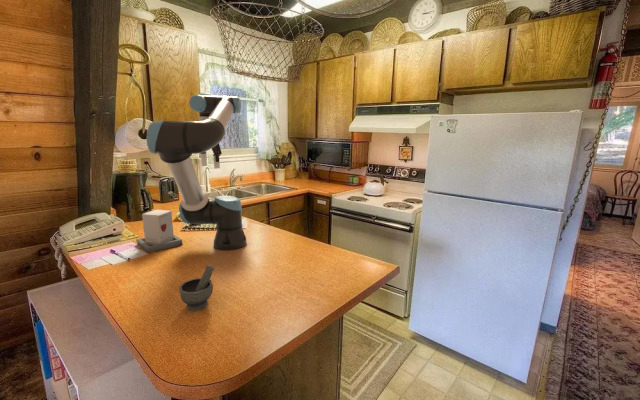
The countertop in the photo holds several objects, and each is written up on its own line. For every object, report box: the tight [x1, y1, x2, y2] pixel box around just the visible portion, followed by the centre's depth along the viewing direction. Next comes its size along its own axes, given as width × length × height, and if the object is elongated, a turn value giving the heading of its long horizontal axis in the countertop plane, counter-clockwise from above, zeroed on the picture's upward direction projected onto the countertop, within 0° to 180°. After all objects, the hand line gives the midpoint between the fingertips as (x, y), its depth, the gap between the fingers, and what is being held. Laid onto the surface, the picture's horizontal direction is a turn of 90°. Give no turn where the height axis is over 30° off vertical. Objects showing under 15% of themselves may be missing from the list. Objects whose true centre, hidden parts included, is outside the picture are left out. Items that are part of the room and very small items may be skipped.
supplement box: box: [141, 209, 175, 245], centre depth 141 cm, size 9×9×15 cm
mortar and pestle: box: [178, 264, 215, 312], centre depth 94 cm, size 11×9×12 cm
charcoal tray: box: [136, 234, 183, 254], centre depth 143 cm, size 15×15×2 cm
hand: (210, 167), depth 157 cm, fingers open, 13 cm apart
